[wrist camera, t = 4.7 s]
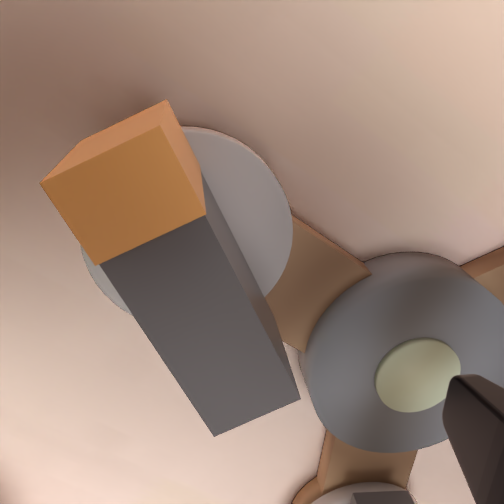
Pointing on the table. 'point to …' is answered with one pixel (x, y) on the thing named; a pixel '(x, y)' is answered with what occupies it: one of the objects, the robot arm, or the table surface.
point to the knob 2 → (367, 494)
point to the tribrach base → (384, 349)
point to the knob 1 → (187, 254)
